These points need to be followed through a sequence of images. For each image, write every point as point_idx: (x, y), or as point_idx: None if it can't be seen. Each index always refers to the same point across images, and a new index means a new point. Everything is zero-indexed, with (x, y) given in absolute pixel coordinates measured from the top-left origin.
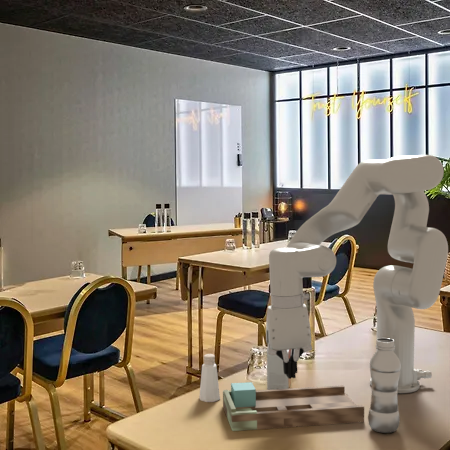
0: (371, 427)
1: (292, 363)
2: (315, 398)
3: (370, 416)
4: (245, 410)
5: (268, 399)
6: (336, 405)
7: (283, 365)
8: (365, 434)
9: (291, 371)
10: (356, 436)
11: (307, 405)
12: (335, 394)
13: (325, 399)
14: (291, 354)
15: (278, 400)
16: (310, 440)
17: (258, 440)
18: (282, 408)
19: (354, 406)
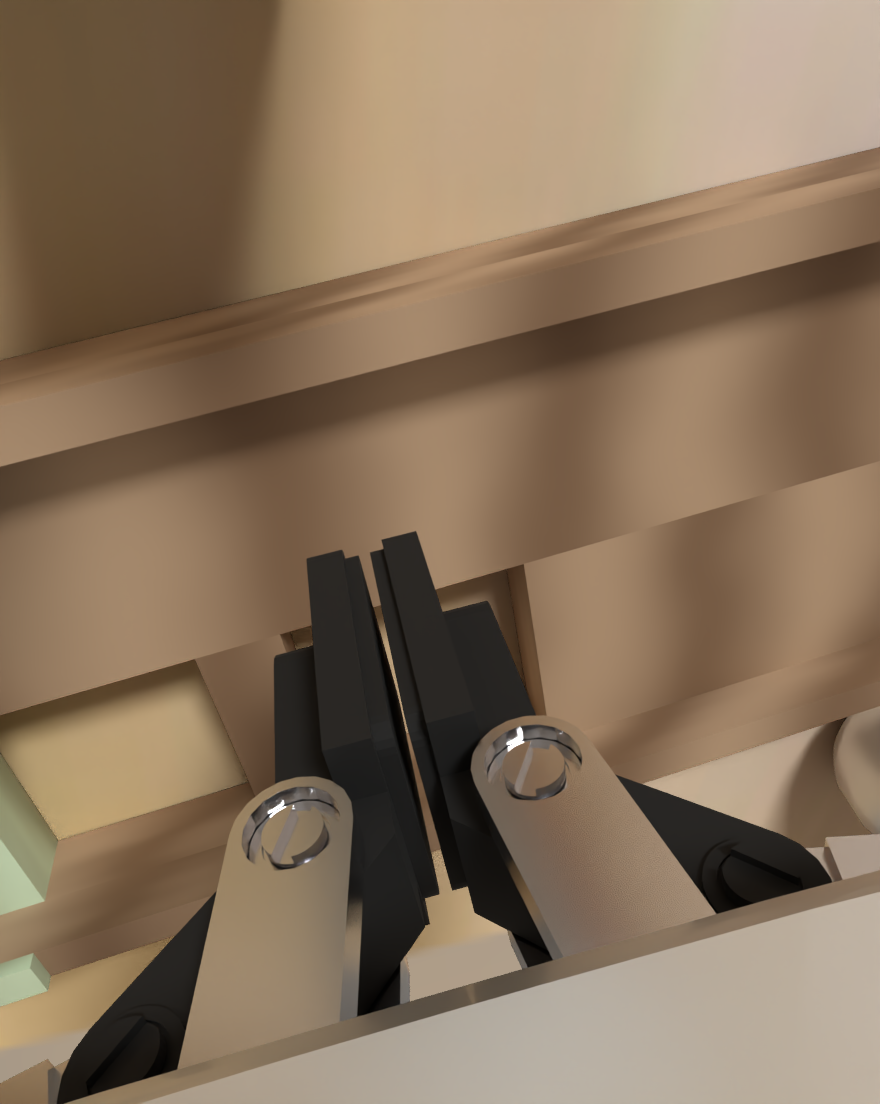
0: (835, 772)
1: (462, 882)
2: (605, 405)
3: (878, 825)
4: None
5: (72, 494)
6: (746, 553)
7: (279, 744)
8: (772, 777)
9: (413, 772)
10: (714, 808)
11: (497, 565)
12: (838, 267)
13: (695, 422)
14: (497, 845)
15: (199, 505)
16: (446, 903)
17: (119, 976)
18: (258, 690)
19: (855, 702)
